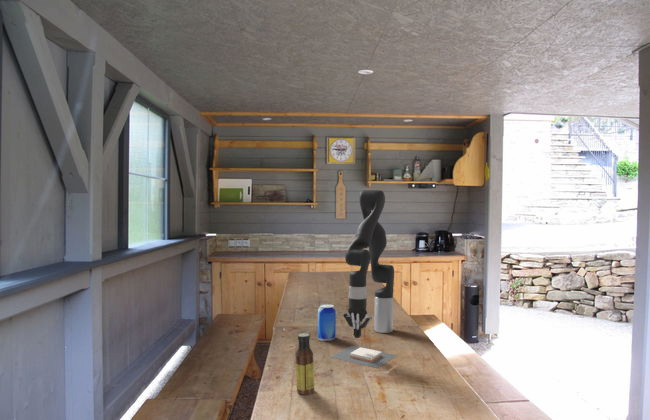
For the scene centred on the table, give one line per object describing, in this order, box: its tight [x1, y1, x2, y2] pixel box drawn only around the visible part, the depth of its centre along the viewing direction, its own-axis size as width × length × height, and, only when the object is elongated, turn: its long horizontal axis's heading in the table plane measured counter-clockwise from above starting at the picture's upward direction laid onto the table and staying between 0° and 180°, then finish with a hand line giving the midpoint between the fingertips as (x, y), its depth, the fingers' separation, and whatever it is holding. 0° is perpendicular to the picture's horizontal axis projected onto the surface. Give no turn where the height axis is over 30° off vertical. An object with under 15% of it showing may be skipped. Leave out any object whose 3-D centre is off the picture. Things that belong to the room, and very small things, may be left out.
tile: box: [350, 347, 382, 362], centre depth 193 cm, size 9×2×10 cm
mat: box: [329, 345, 398, 369], centre depth 193 cm, size 18×22×1 cm
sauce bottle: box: [295, 332, 315, 396], centre depth 159 cm, size 7×6×20 cm
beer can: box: [317, 303, 337, 342], centre depth 217 cm, size 8×8×16 cm
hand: (357, 337), depth 195 cm, fingers closed
